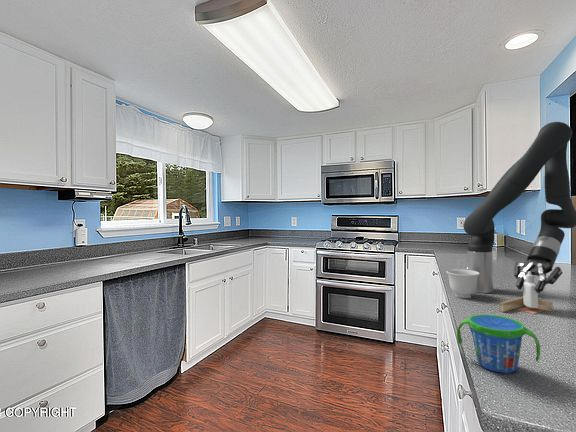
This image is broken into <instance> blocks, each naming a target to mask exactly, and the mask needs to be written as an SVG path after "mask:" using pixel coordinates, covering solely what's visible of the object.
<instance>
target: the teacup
mask: <svg viewBox="0 0 576 432" xmlns="http://www.w3.org/2000/svg"><path fill="white" fill-rule="evenodd" d="M445 273H446V274H447V276H448V282H449V286H450V289H451V291H452V292H453V293H455V297H456V298H461V299H470V298H472V294H474V293H476V292H475V291H476V287H477V279H478V275H480V273H479V272H476V271H472V270H466V269H464V268H463V269H461V268H459V269H458V268H453V269H448V270H446V272H445Z"/></svg>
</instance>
